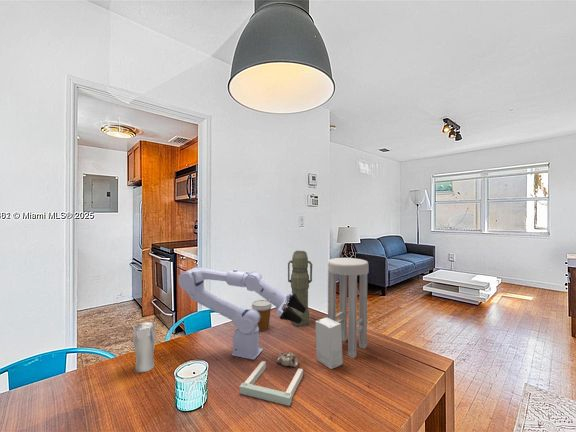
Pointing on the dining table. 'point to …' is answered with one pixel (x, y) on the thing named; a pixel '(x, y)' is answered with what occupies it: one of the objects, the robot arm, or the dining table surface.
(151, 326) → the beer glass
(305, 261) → the thermos
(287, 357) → the ornament
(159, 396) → the dining table surface
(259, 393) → the u-shaped frame
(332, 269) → the stool
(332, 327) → the skincare box
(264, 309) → the disposable coffee cup
